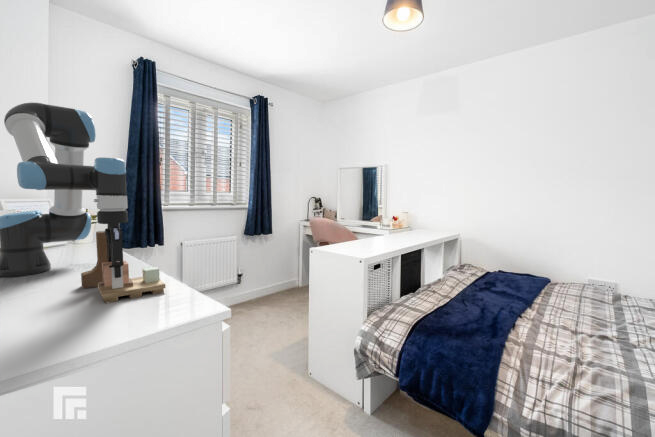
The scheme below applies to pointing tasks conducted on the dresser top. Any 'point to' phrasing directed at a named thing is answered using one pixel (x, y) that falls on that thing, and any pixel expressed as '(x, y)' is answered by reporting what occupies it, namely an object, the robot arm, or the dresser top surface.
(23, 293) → the dresser top surface
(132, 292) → the wooden pallet
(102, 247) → the wooden block
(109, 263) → the pink slab on base
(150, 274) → the pale green cube
